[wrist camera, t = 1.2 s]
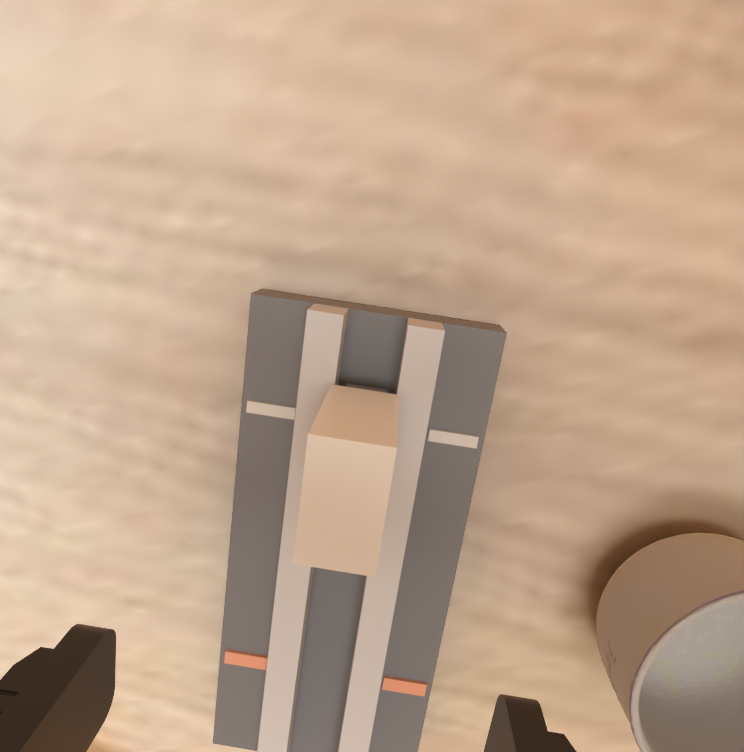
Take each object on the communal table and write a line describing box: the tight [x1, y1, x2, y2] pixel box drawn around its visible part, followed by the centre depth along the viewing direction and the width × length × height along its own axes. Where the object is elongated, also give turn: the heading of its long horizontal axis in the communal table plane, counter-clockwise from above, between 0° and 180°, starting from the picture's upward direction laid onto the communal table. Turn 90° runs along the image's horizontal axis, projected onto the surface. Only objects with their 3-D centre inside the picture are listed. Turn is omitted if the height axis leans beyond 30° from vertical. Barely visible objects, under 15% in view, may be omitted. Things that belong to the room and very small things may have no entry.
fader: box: [292, 383, 399, 577], centre depth 23 cm, size 3×5×8 cm, turn 172°
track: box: [213, 289, 506, 752], centre depth 29 cm, size 12×27×4 cm, turn 172°
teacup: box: [596, 533, 744, 752], centre depth 27 cm, size 14×11×8 cm
